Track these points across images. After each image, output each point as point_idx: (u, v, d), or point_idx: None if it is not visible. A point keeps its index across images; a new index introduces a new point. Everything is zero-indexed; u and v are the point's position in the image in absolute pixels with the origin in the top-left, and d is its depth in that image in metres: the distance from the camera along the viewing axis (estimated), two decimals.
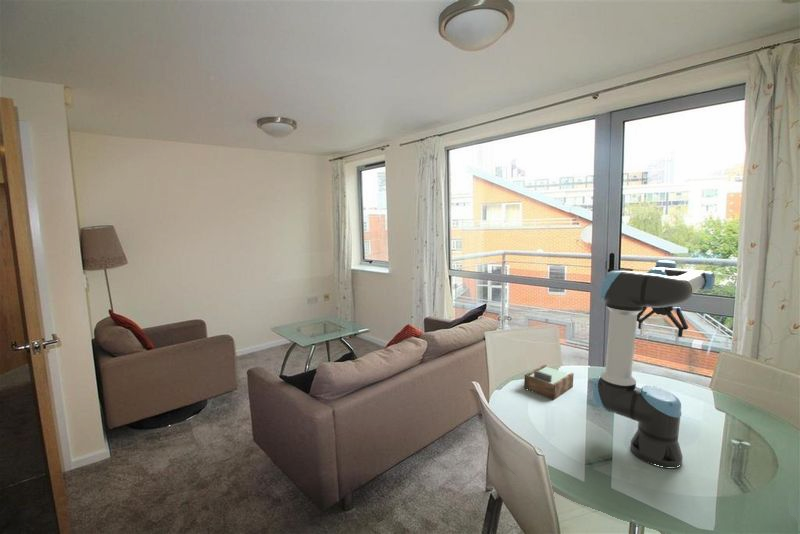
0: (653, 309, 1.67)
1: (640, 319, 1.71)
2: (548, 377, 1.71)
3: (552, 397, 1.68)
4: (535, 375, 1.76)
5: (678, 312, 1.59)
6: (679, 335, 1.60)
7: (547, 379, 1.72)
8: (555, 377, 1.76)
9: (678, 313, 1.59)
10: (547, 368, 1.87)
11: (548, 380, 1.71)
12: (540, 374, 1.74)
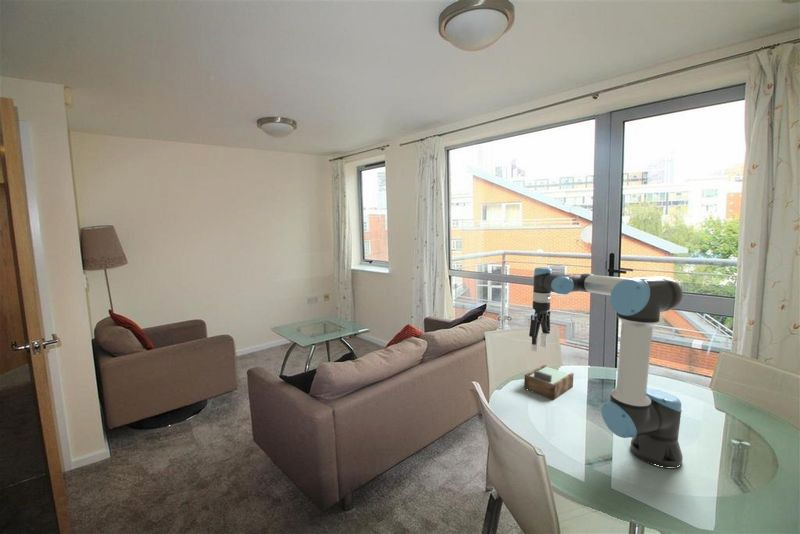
0: None
1: None
2: (548, 377, 1.71)
3: (552, 397, 1.68)
4: (535, 375, 1.76)
5: None
6: None
7: (547, 379, 1.72)
8: (555, 377, 1.76)
9: None
10: (547, 368, 1.87)
11: (548, 380, 1.71)
12: (540, 374, 1.74)
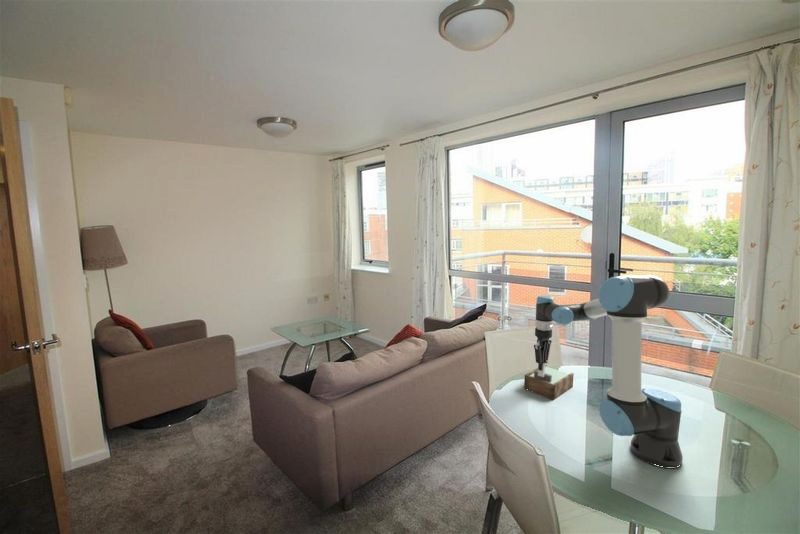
0: None
1: None
2: (548, 377, 1.71)
3: (552, 397, 1.68)
4: (535, 375, 1.76)
5: None
6: None
7: (547, 379, 1.72)
8: (555, 377, 1.76)
9: None
10: (547, 368, 1.87)
11: (548, 380, 1.71)
12: None
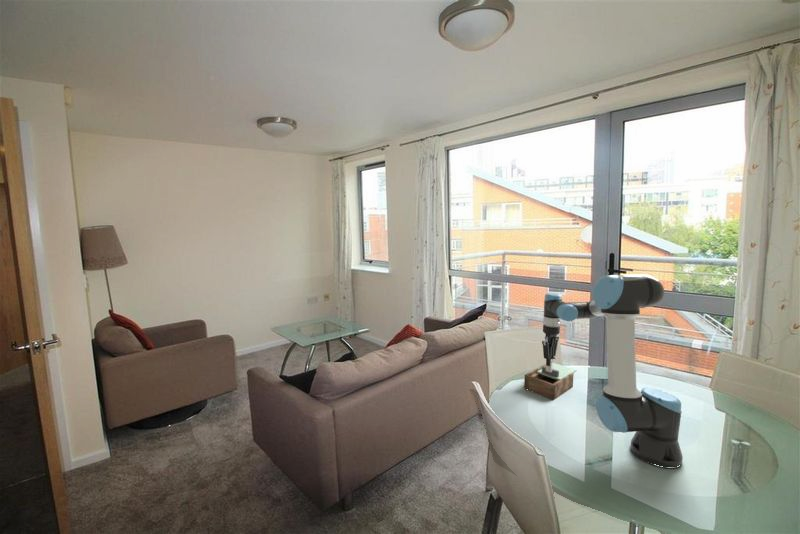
0: None
1: None
2: (556, 372, 1.76)
3: (552, 397, 1.68)
4: (543, 371, 1.81)
5: None
6: None
7: (555, 375, 1.77)
8: (562, 373, 1.81)
9: None
10: (554, 364, 1.92)
11: (556, 375, 1.76)
12: None
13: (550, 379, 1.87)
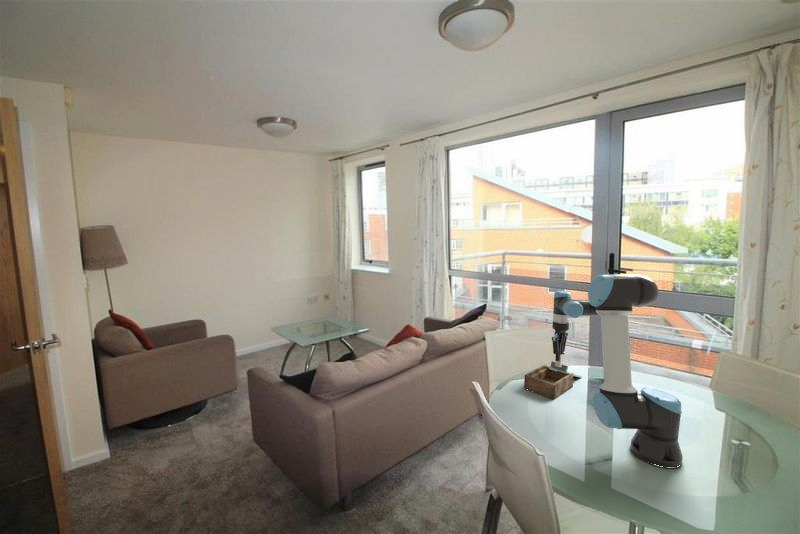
0: None
1: None
2: (565, 367, 1.83)
3: (552, 397, 1.68)
4: (551, 365, 1.87)
5: None
6: None
7: (563, 369, 1.83)
8: (569, 372, 1.86)
9: None
10: None
11: (564, 370, 1.82)
12: None
13: (550, 379, 1.87)
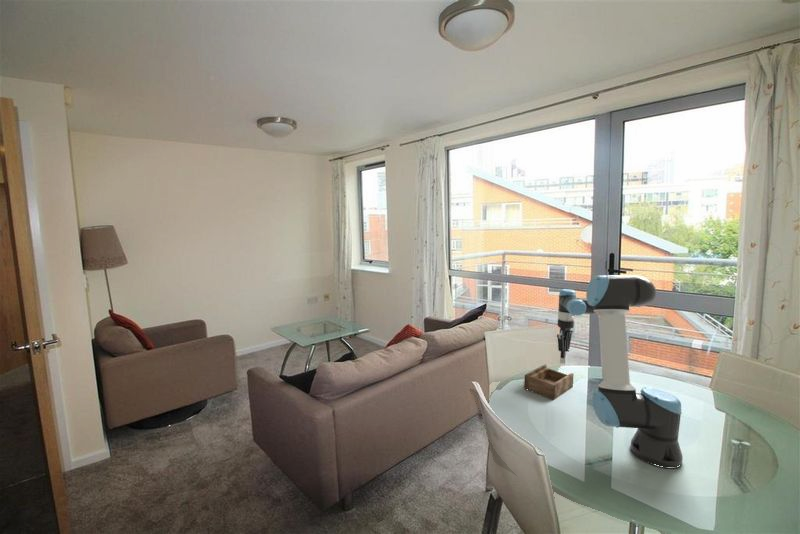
0: None
1: None
2: None
3: (552, 397, 1.68)
4: None
5: None
6: None
7: None
8: None
9: None
10: None
11: None
12: None
13: (550, 379, 1.87)
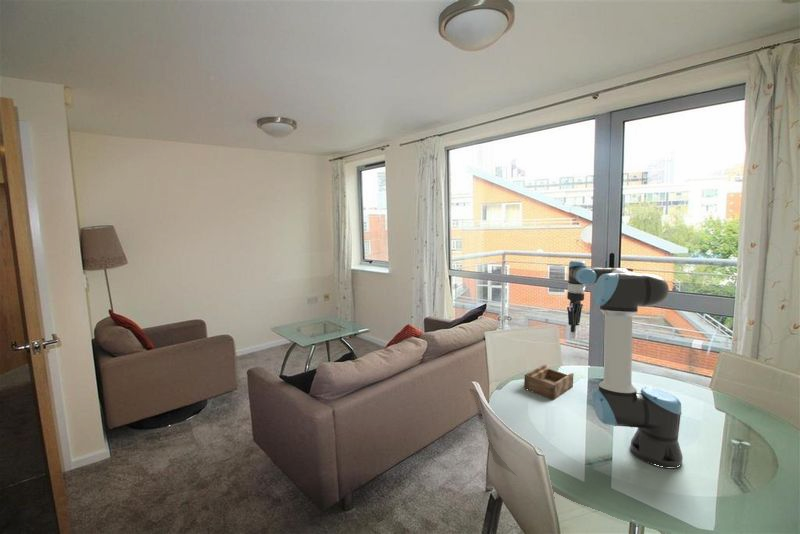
0: None
1: None
2: None
3: (552, 397, 1.68)
4: None
5: None
6: None
7: None
8: None
9: None
10: None
11: None
12: None
13: (550, 379, 1.87)
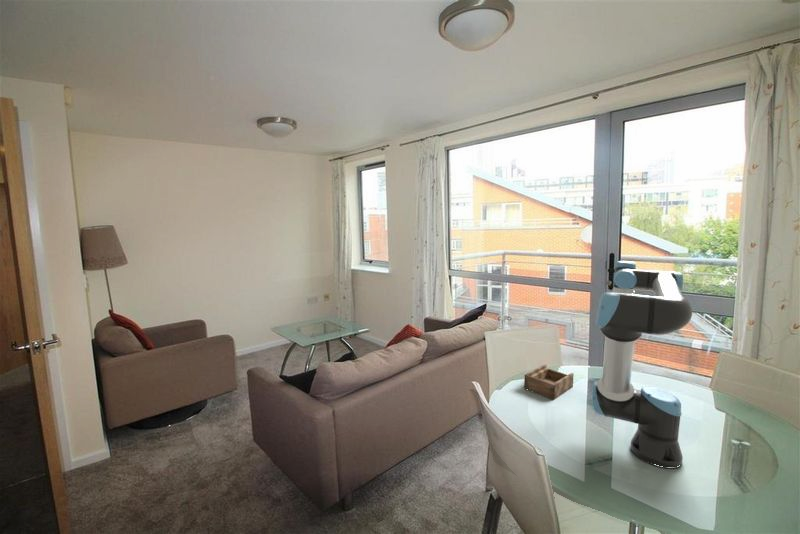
0: None
1: None
2: None
3: (552, 397, 1.68)
4: None
5: None
6: None
7: None
8: None
9: None
10: None
11: None
12: None
13: (550, 379, 1.87)
